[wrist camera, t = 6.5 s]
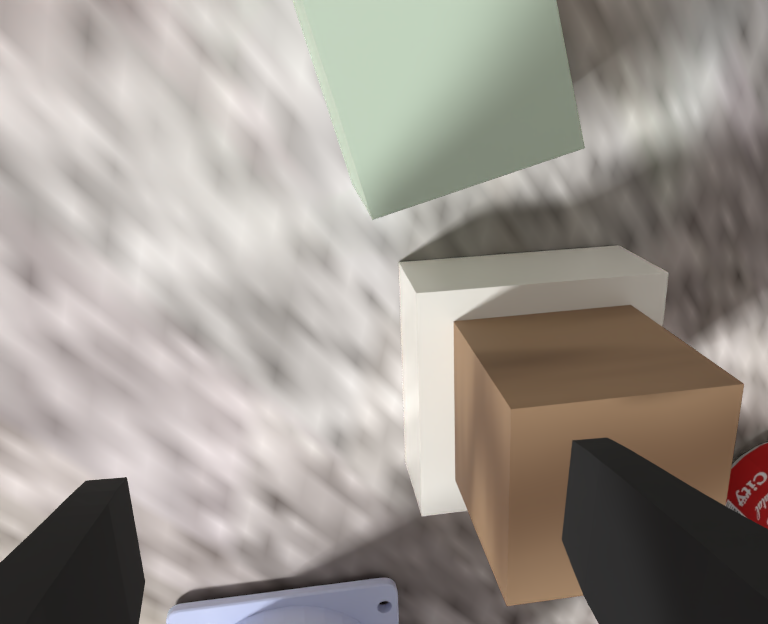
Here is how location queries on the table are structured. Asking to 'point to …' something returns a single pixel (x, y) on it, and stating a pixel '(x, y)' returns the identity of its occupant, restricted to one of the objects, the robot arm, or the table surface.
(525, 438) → the walnut cube
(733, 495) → the soda can
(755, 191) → the table surface
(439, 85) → the sage cube
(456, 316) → the cream slab
